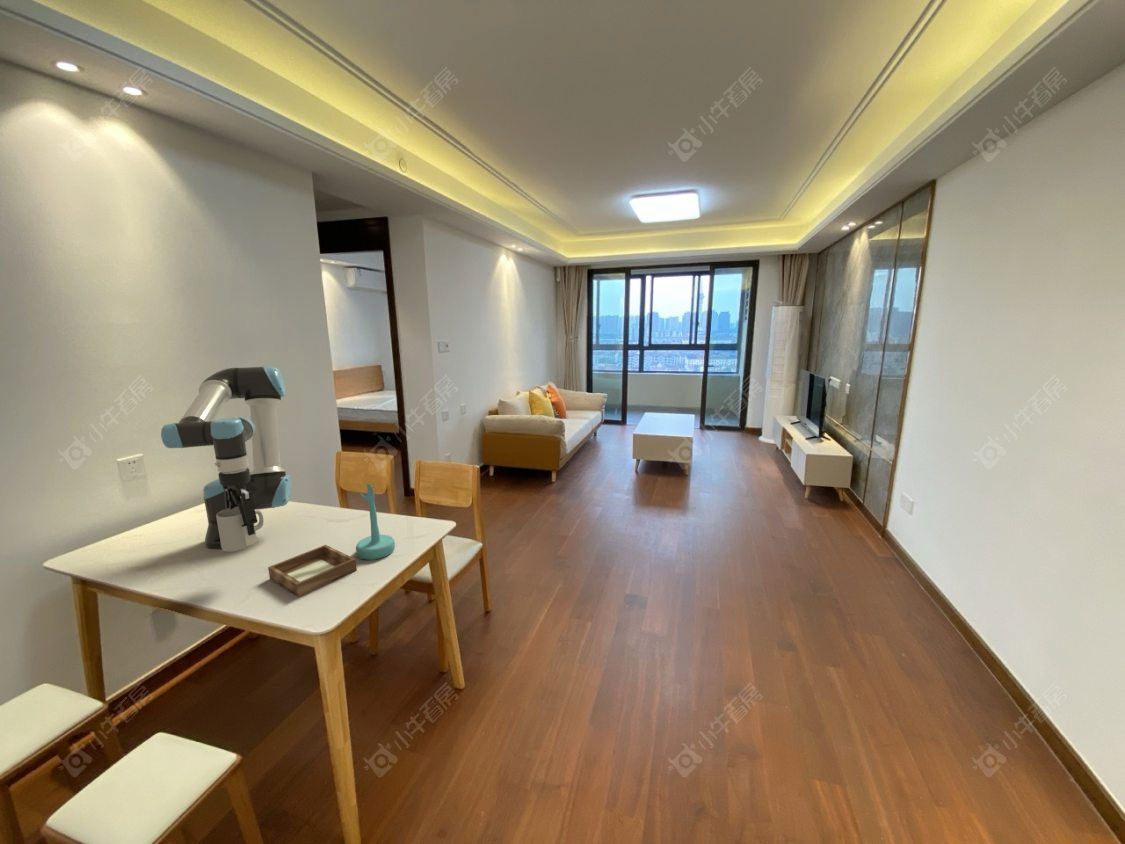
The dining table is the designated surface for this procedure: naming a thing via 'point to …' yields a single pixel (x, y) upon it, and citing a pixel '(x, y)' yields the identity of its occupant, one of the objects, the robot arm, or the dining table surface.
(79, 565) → the dining table surface
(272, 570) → the walnut box
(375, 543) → the teal branch stand
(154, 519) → the dining table surface
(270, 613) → the dining table surface
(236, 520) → the mug
